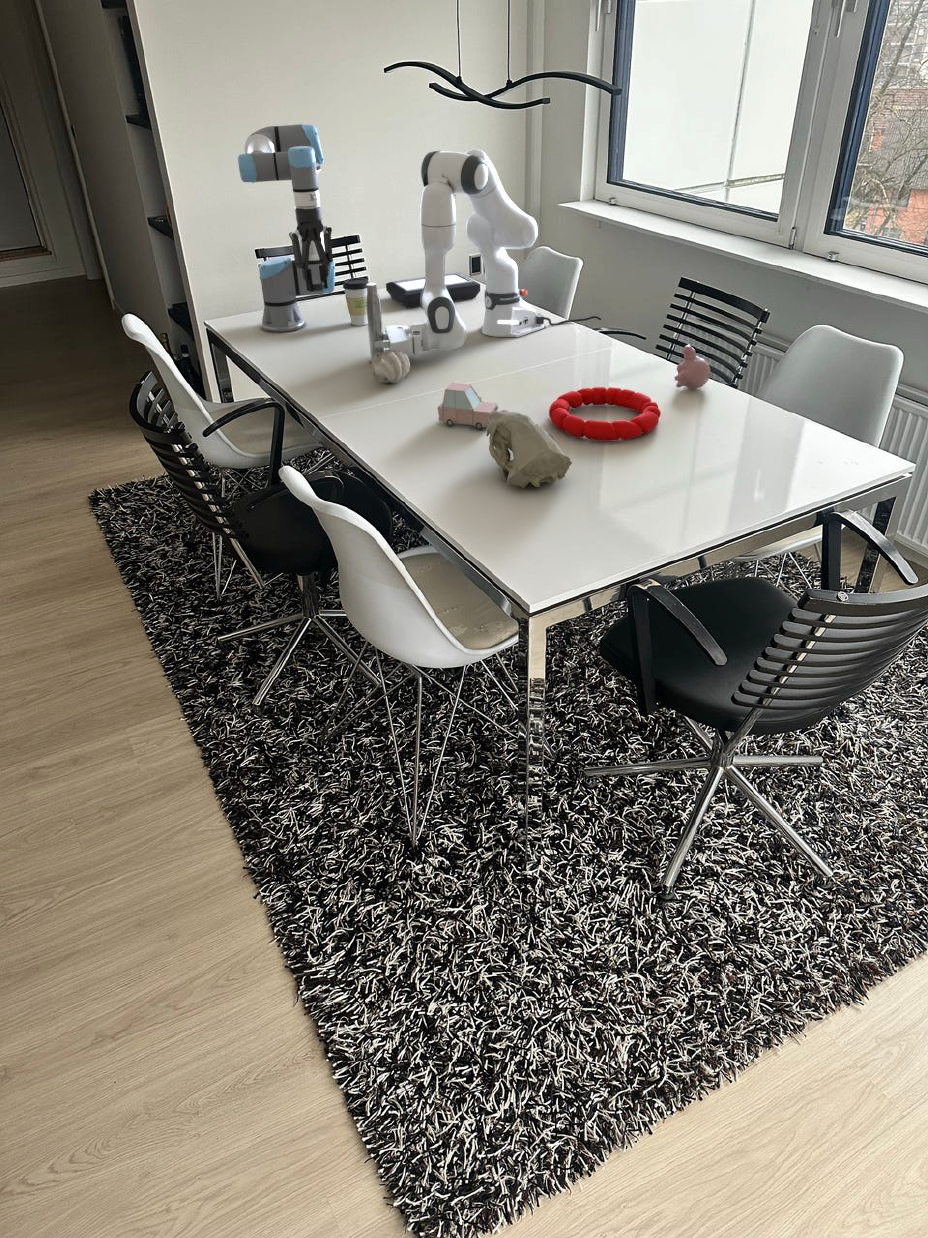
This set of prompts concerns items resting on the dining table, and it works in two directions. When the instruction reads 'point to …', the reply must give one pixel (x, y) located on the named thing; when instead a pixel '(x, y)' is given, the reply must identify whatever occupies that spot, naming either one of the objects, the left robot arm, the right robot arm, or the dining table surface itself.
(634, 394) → the decorative ring
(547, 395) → the dining table surface
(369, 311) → the bottle
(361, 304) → the coffee cup
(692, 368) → the figurine
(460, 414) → the toy car
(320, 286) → the cap
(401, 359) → the seashell
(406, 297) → the electronic device
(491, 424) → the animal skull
